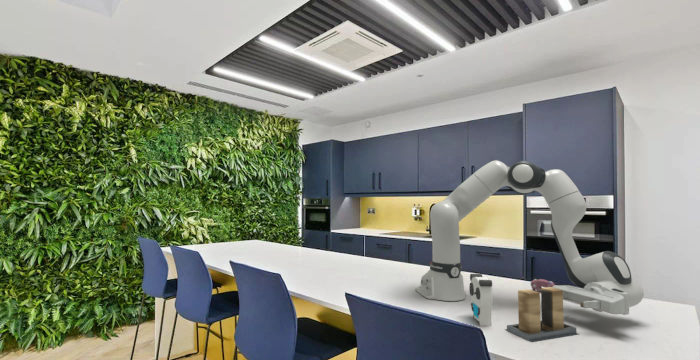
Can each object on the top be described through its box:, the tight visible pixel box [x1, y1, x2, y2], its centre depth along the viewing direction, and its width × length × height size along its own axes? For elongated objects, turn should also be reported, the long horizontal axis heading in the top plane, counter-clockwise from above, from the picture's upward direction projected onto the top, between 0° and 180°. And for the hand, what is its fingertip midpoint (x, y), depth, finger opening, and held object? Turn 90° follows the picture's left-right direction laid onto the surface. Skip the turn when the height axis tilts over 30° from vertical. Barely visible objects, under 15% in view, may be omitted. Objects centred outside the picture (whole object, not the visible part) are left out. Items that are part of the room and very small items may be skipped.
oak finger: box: [540, 287, 565, 331], centre depth 105 cm, size 4×4×12 cm
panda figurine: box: [469, 273, 494, 327], centre depth 112 cm, size 12×11×15 cm
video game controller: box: [530, 278, 556, 293], centre depth 152 cm, size 10×5×7 cm, turn 48°
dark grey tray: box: [504, 320, 580, 343], centre depth 103 cm, size 10×18×2 cm, turn 110°
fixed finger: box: [517, 288, 541, 333], centre depth 102 cm, size 4×4×12 cm
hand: (567, 300), depth 107 cm, fingers open, 8 cm apart
